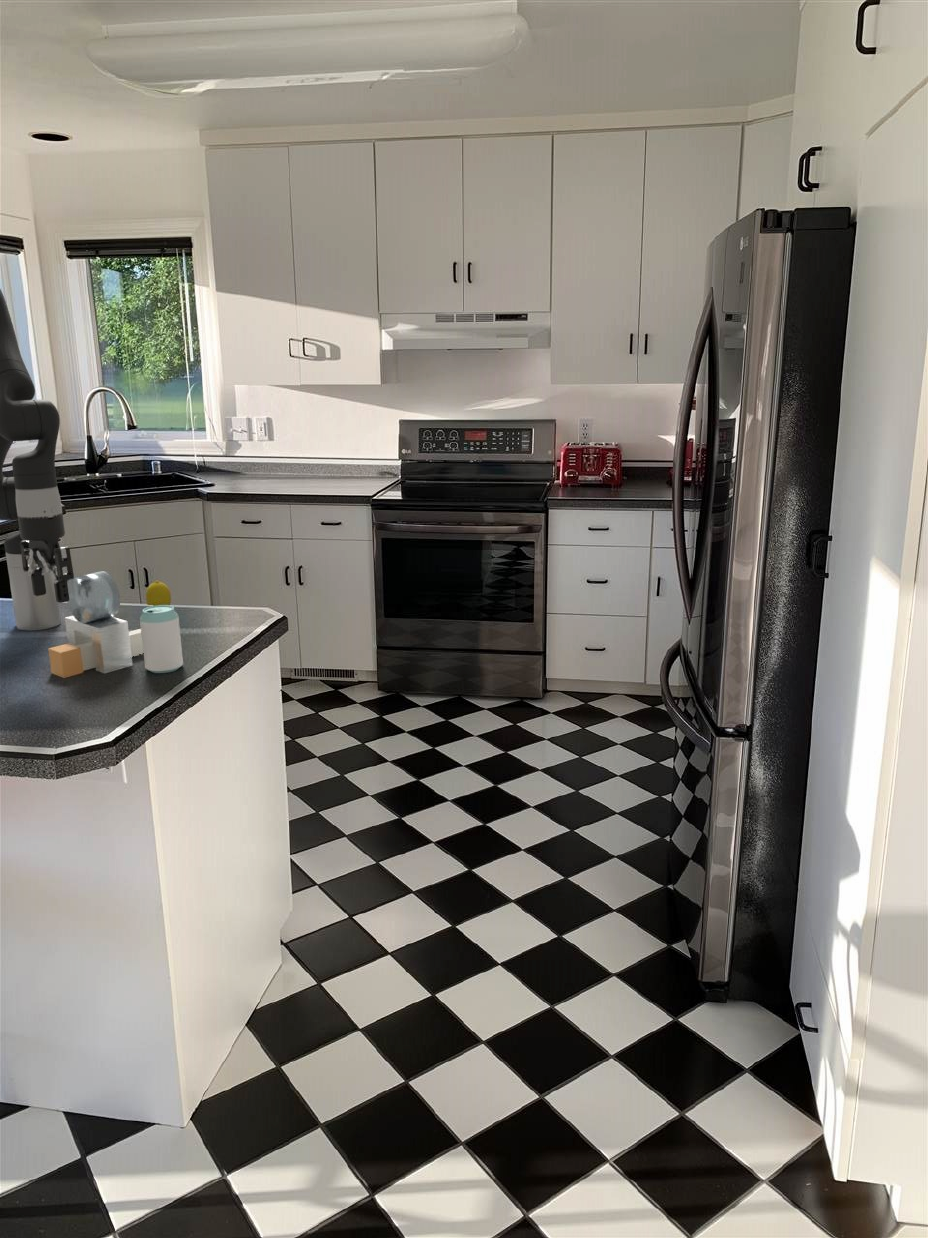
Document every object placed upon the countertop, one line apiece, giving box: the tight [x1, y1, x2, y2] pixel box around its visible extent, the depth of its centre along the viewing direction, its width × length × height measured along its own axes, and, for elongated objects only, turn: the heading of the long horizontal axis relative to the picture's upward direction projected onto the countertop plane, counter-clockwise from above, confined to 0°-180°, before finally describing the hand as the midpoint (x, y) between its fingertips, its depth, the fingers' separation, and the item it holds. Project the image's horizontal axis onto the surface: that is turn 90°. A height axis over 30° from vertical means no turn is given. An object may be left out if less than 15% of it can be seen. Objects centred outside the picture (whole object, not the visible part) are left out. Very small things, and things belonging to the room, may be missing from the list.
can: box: [139, 605, 184, 674], centre depth 185 cm, size 7×7×12 cm
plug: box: [47, 628, 144, 679], centre depth 190 cm, size 4×20×5 cm, turn 141°
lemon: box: [145, 580, 172, 607], centre depth 224 cm, size 6×6×8 cm
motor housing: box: [64, 570, 133, 674], centre depth 188 cm, size 12×6×18 cm, turn 50°
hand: (51, 598), depth 180 cm, fingers open, 8 cm apart
